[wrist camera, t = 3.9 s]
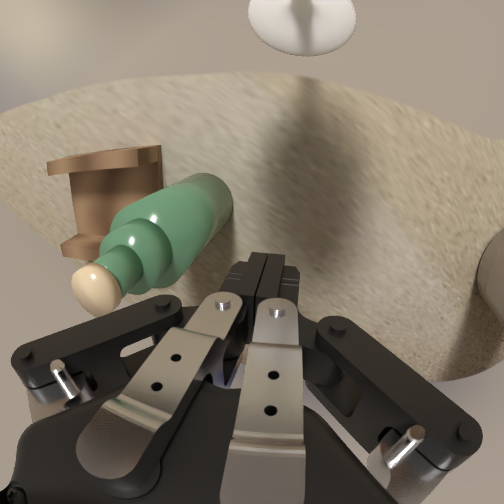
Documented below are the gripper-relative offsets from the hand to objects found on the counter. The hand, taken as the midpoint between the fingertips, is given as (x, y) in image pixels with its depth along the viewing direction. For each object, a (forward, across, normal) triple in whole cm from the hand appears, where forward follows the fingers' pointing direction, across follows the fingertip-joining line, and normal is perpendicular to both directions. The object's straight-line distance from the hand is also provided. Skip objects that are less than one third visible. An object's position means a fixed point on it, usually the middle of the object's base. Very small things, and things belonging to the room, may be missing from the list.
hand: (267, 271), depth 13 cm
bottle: (+11, +7, 0) cm, 13 cm away
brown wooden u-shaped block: (+11, +17, 0) cm, 20 cm away
